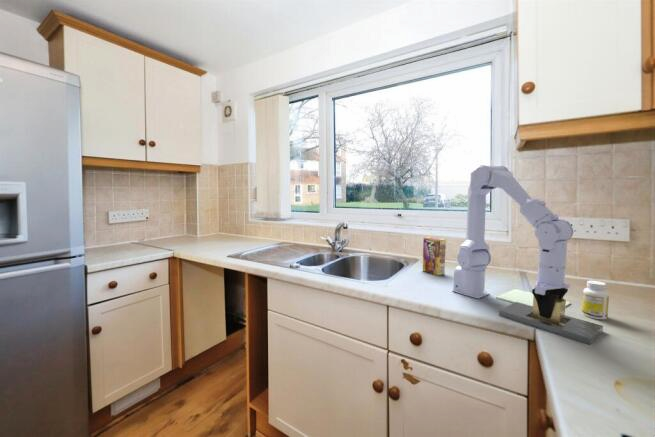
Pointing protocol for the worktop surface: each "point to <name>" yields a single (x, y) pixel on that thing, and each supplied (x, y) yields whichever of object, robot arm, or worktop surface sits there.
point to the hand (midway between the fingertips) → (548, 315)
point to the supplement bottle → (595, 300)
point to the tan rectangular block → (557, 312)
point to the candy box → (434, 255)
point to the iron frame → (571, 329)
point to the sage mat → (520, 297)
